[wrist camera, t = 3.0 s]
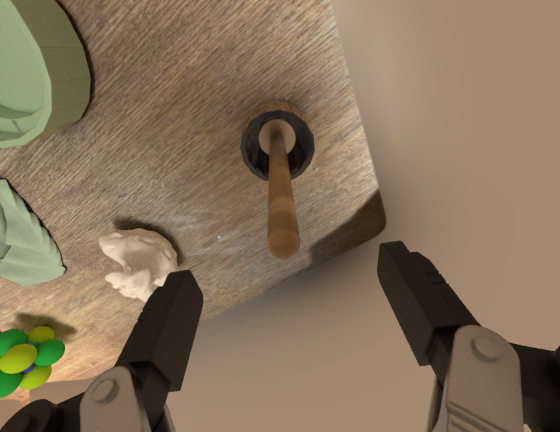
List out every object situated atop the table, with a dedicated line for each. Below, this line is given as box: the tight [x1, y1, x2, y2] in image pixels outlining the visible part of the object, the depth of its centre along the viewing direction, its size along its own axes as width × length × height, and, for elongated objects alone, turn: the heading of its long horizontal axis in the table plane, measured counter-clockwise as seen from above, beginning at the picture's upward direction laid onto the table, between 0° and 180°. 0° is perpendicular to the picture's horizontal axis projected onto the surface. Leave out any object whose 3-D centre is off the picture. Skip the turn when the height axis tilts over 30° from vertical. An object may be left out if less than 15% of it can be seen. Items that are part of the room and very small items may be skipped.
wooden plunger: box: [259, 116, 300, 259], centre depth 19 cm, size 4×4×20 cm
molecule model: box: [0, 326, 65, 398], centre depth 44 cm, size 9×9×9 cm
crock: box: [241, 99, 315, 181], centre depth 25 cm, size 7×7×6 cm
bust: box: [99, 228, 179, 302], centre depth 33 cm, size 12×8×11 cm
